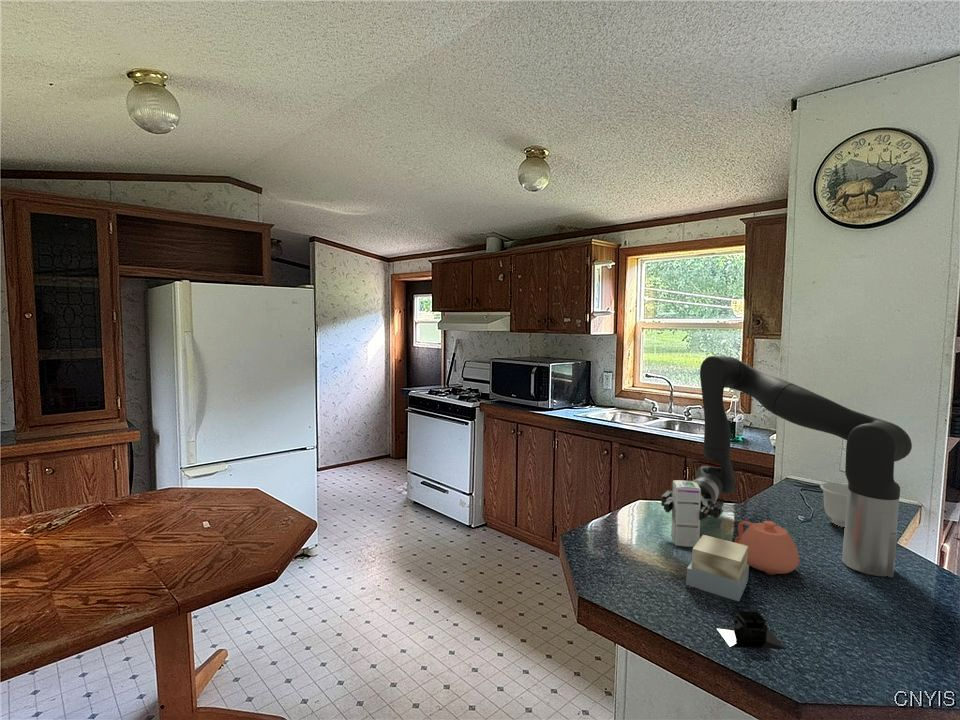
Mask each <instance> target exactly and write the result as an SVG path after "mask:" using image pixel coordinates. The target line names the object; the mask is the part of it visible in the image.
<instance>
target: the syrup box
mask: <svg viewBox="0 0 960 720" xmlns="http://www.w3.org/2000/svg"><path fill="white" fill-rule="evenodd" d="M700 505H701V489H700V487H699V486H698V484H697V483H696V482H694V481H693V480H685V479H684V480H682V479H681V480H679V479H677V480H672V510H671V529H670V530H671V533H670V534H671V536H670V537H671V538H672V541H673V543H674V545H675V546H679V547H686V548H687V547H689V548H694V546H695V545H696V543H697V542H698V541H699V539H700V538H701V536H700V533H701V520H699V512H700Z"/></svg>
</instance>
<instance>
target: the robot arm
mask: <svg viewBox="0 0 960 720" xmlns="http://www.w3.org/2000/svg"><path fill="white" fill-rule="evenodd" d="M699 376H700V377H699V379H700V387H701V396H702V405H703V406H702V407H703V413H704V414H703V415H704V417H703V419H704V434H703V435H704V436H703V437H704V438H703V456H704V457H705V458H707V459H709V460H713V461H716V463H718V465H719V466H720V467H716V466H709V465H702V466H700V467H698V468H697V470H696V471H695V472H696V473H695V479H693V480H692V481H694V482H696V483H697V484H698V486H699V487H700V489H701V505H700V512H699V520H700V521H703V520H706V519H708V518H709V517H711V516H712V517H713V518H715V519H719V518H720V516H721V515H722V514H723V513H724V504H725V503H724V501H722V500H719V501H717V500H718V498H719V497H720V495H721V494H728V495H729V494H731V493H732V492H733V491H734V490H735V489H736V485H737V484H736V476H735V474H734V469H733V465H732V460H731V441H732V440H731V439H732V433H731V426H730V421H729V419H728V417H727V413H726V410H725V406H724V390H725V389H733V390H735V391H737V392H740V393H744V394H746V395H748V396H750V397H752V398H754V399H755V400H756V402H757V401H758V403H759V404H760V405H761V406H762V407H763V408H765V410H767V411H768V412H769V413H771V414H774V415H775V416H777V417H779V418H781V419H782V420H785V421H787V422H789V423H792V424H794V425H797V426H800V427H804V428H807V429H811V430H814V431H818V432H822V433H826V434H829V435H833V436H836V437H838V438H841V439H843V440H845V441H846V447H845V477H846V479H847V482H848V483H847V484H848V496H847V507H846V519H845V528H844V531H843V532H844V533H843V543H842V555H841V562H842V563H843V564H844V565H845V566H846V567H848V568H850V569H852V570H853V571H857V572H858V573H859V572H860V573H862V574H866V575H871V576H875V577H876V576H877V577H887V576H888V578H892V577H893V578H894V574H895V573H894V572H895V562H896V561H895V560H896V553H897V552H896V551H897V540H898V534H897V529H898V528H897V527H898V517H899V508H900V507H899V506H900V498H901V497H900V495H901V486H900V484H899V483H897V482H896V481H895V478H894V475H895V462H898V461H901V460H902V459H905V458H906V457H908V456H909V454H910V453H911V452H912V447H913V443H912V440H911V438H910V436H909V434H908V433H907V431H905V430H904V429H903V428H902V427H900V426H899V425H897V424H895V423H892V422H891V421H888V420H883V419H881V418H877V417H874V416H871V415H868V414H864V413H861V412H858V411H857V410H854V409H850V408H848V407H846V406H843V405H841V404H839V403H837V402H835V401H833V400H831V399H829V398H827V397H824V396H822V395H820V394H818V393H815V392H813V391H811V390H810V389H807V388H805V387H802V386H799V385H797V384H795V383H792V382H790V381H786V380H784V379H781V378H778V377H776V376H772V375H771V374H767V373H764V372H762V371H759V370H758V369H756V368H754V367H752V366H750V365H749V364H747V363H745V362H743V361H741V360H740V359H737V358H735V357H732V356H726V355H710V356H708V357H706V358H704V359H703V361H702V362H701V364H700V368H699ZM672 493H673V490H669V489H668V490H666V491H665V493H663V494H662V495H661V505H660V506H661V507H663V510H664V511H665V513H670V512H672Z"/></svg>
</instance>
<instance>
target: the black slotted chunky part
mask: <svg viewBox="0 0 960 720" xmlns="http://www.w3.org/2000/svg"><path fill="white" fill-rule="evenodd" d="M733 619H734V620H733V628H732V627H716V630H717V631H718V632H719V634H720V635H721V637H722V638H723V639H724V640H725V642H726V644H727V645H728V646H729V648H740V649H742V647H743V648H744V649H746V648H747V649H766V650H767V649H770V650H787V648H786V646H785V645H784V644H783V643H782V642H781V641H780V640H779V639H778V638H777V637H776V635H774V634H773V633H772V631H771V630H769V629H768V625H767V620H766V619H765V618H763V616H762V615H761V614H760V613H759V612H758V611H754V610H753V611H749V610H747V611H746V610H736V615H735V616H734V618H733ZM750 647H751V648H750Z"/></svg>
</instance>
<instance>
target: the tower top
mask: <svg viewBox="0 0 960 720" xmlns="http://www.w3.org/2000/svg"><path fill="white" fill-rule="evenodd" d="M691 552H692V553H691V562H692V568H696V569H699V570H703V571H706V572H709V573H713V574H716V575H720V576H723V577H727V578H730V579H733V580H737V581H740V579H741V576H742V574H743V572H744V570H745V568H746V565H748V564H747V557H748V546H746V545H742V544H738V543H735V541H734V542H733V541H730V540H725V539H723V538H722V539H721V538H717V537H714V536H709V535H706V534H702V536H700V539H699V541H698V542H697V543H696V545H695V546H694V547H692V551H691Z"/></svg>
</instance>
